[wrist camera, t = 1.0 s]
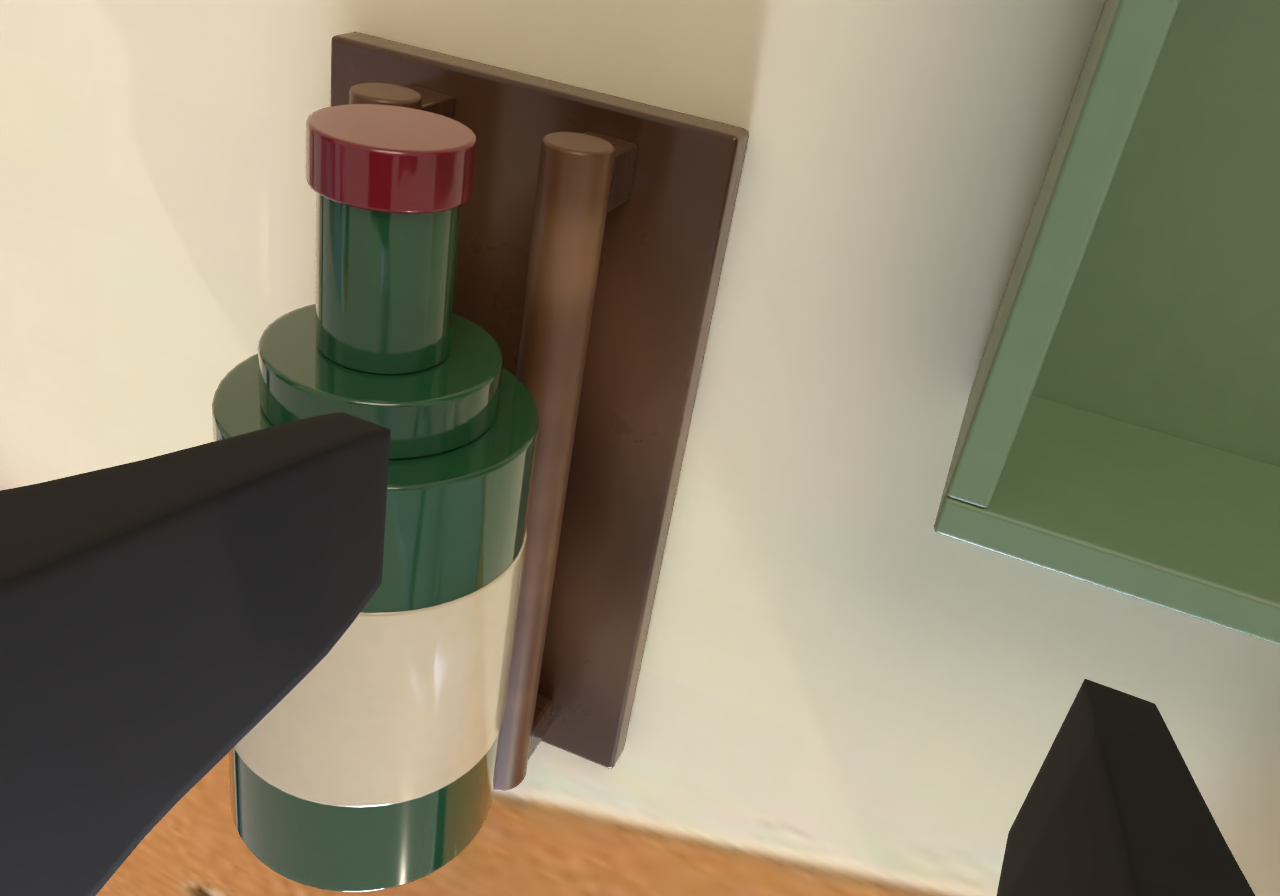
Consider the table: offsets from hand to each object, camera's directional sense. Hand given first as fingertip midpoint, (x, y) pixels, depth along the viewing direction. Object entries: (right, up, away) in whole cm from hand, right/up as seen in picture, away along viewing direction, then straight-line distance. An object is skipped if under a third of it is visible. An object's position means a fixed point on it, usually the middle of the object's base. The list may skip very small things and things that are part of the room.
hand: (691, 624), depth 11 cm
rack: (-3, +2, +13) cm, 13 cm away
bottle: (-4, +2, +10) cm, 11 cm away
